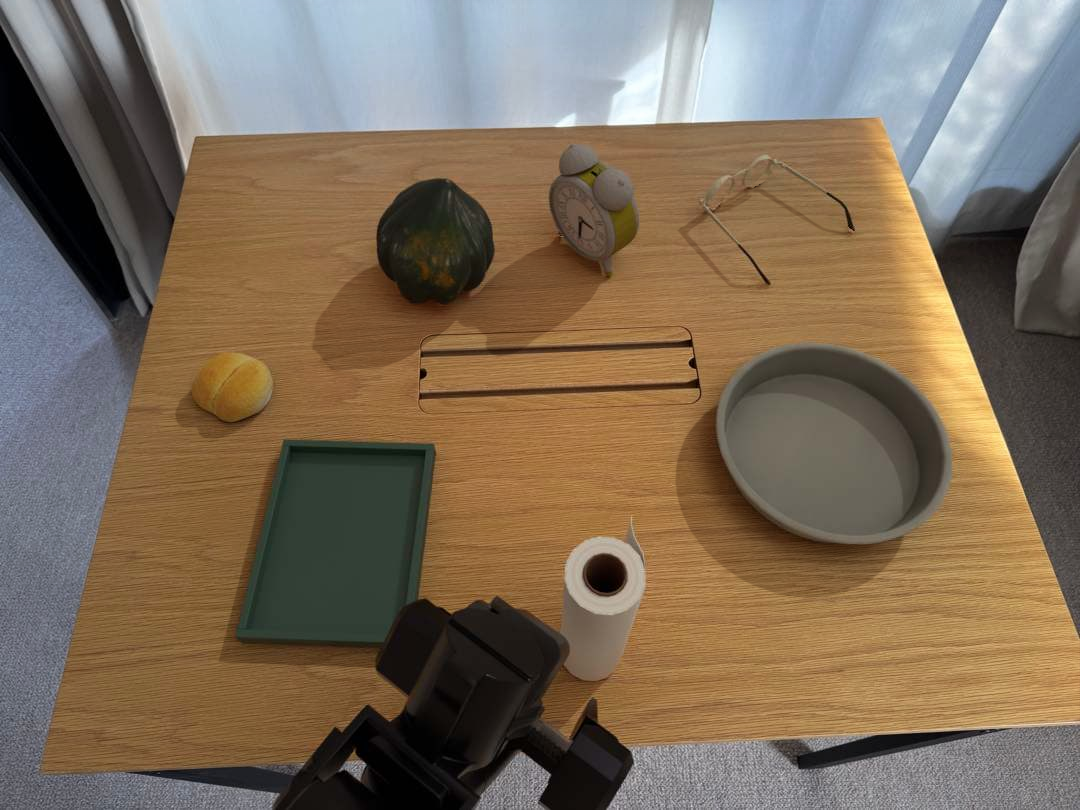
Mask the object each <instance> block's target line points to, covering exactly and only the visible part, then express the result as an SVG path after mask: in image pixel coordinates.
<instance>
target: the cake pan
mask: <svg viewBox="0 0 1080 810" xmlns="http://www.w3.org/2000/svg"><path fill="white" fill-rule="evenodd" d="M719 397H720V398H719V400H718V404H717V409H716V415H715V416H716V418H715V431H716V438H717V444H718V448H719V450H720V453H721V457H722V459H723V461H724V463H725V466H726V467H727V469H728V471H729V474H730V476H731V479H732V481H733V483H734V484H735V486H736V487H737V489H738V490H739V492H740V493H741V495H742V496H743V497H744V498H745V500H746V502H748V503H749V504H750V505H751V506H752V507H753V509H754V510H756V512H758V513H759V514H760V515H761V516H762V517H764V518H765V519H767V520H768V521H769V522H771V523H772V524H774V525H775V526H777V527H779V528H780V529H782V530H784V531H786V532H788V533H790V534H793V535H795V536H798V537H801V538H803V539H807V540H810V541H815V542H820V543H826V544H846V545H870V544H878V543H879V544H880V543H883V542H887V541H891V540H894V539H898V538H901V537H903V536H905V535H907V534H909V533H911V532H913V531H915V530H916V529H918V528H919V527H920V526H922V525H924V523H926V522H927V521H928V520H930V518H931V517H933V515H934V514H935V513H936V512H937V511H938V510H939V508H940V506H941V505H942V503H943V502H944V500H945V498H946V496H947V494H948V492H949V488H950V485H951V480H952V475H953V467H954V466H953V454H952V447H951V441H950V438H949V434H948V431H947V430H946V427H945V424H944V423H943V420H942V418H941V416H940V415H939V413H938V411H937V410H936V407H934V405H933V404H932V403H931V401H930V399H929V398H927V396H926V394H925V393H923V391H921V389H920V388H919V387H918V386H916V385H915V384H914V383H913V382H912V381H911V380H910V379H909V378H908V377H906V376H905V375H904V374H902V373H901V372H900V371H898V370H897V369H895V367H893V366H891V365H889V364H888V363H886V362H884V361H883V360H881V359H878V358H877V357H875V356H872V355H870V354H867V353H866V352H863V351H860V350H857V349H853V348H851V347H846V346H843V345H838V344H832V343H825V342H797V343H789V344H784V345H780V346H776V347H773V348H770V349H768V350H766V351H763V352H761V353H759V354H757V355H756V356H754V357H752V358H751V359H749V360H748V361H747V362H745V363H744V364H742V365H741V366H740V367H739V368H738V369H737V371H735V373H733V375H732V376H731V377H730V379H729V380H728V381H727V383H726V385H725V386H724V388H723V390H722V392H721V395H720V396H719Z"/></svg>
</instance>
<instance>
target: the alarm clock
mask: <svg viewBox="0 0 1080 810" xmlns="http://www.w3.org/2000/svg"><path fill="white" fill-rule="evenodd" d="M598 155H599V154H598V153H597V152H596V151H595V150H594V149H593V148H592V147H591V146H589V145H587V144H582V143H577V144H576V143H571V144H570V145H569V147H567V148H565V150H564V151H563V152H562V154H561V156H560V158H559V161H558V162H559V163H558V170H559V175H558V176H557V177H556V178H555V179H554V180H553V181H552V182H551V184H550V188H549V190H548V191H549V192H548V204H549V210H550V213H551V216H552V219H553V221H554V224H555V226H556V228H557V230H558V233H557V235H558V234H559V235H560V236H563V237H562V238H563V239H564V240H565V242H566V243H567V245H568V246H570V248H571V249H573V251H575V252H576V254H579V255H580V256H581V257H583V258H584V259H587V260H590V261H593V262H600V264H601V266H602V268H603V270H604V273H605V275H606V277H607V278H611V277H613V264H612V262H613V261H612V256H613V255H615V254H616V253H618V252H620V251H621V250H622V249H624V248H626V247H627V246H628V245H630V244H631V243H632V242H633V240H635V238H636V236H637V234H638V232H639V227H640V214H639V209H638V205H637V200H636V199H635V197H634V192H635V189H634V183H633V181H632V179H631V177H630V175H629V174H627V173H626V172H625V171H623V170H620V169H618V168H613V167H612V166H611V165H609V164H607V163H606V162H603V161H600V158H599V156H598Z"/></svg>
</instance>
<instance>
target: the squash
mask: <svg viewBox="0 0 1080 810" xmlns="http://www.w3.org/2000/svg"><path fill="white" fill-rule="evenodd" d="M376 227H377V228H376V235H375V239H376V240H375V242H376V255H377V261H378V264H379V267H380V269H381V270H382V272H383V274H384V275H385V277H387V279H389V280H390V281H392V282H394V283H396V286H397V288H398V291H399V293H400V294H401V296H402V297H403V298H404V299H405V300H406V301H407V302H408V303H410V304H413V305H420V304H424V303H426V302H428V301H430V300H432V301H433V302H434V303H436V304H438V305H441V306H445V305H448V304H451V303H453V302H454V301H455V300H457V298H458V297H459V296H460V295H461V294H462V293H463V292H470V291H473V290H476V288H477V287H479V286H480V285H481V284H482V282H483V281H484V279H485V277H486V273H487V272H488V270H489V269H490V267H491V264H492V262H493V260H494V257H495V251H496V250H495V242H494V232H493V231H494V230H493V225H492V221H491V219H490V217H489V215H488V214H487V212H486V210H485V209H484V207H483V205H482V204H481V203H480V202H479V201H478V200H477V199H475V198H474V197H473V196H471V194H469V193H467V192H466V191H465V190H464V189H462V188H461V187H460V186H459V185H458V184H456V182H455V181H453V180H451V179H449V178H441V177H435V178H430V179H424V180H421V181H420V180H419V181H417V182H415V183H412V184H411V185H409V186H407V187H406V188H404V189H403V190H401V191H400V192H399V193H398V194H397V195H396V197H395V198H394V200H393V201H392V203H391V204H390V205H389V206H388V207H387V208H386V209H385V210H384V212H383V213H382V215H381V217H380V218H379V221H378V223H377V226H376Z"/></svg>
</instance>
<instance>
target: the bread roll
mask: <svg viewBox="0 0 1080 810" xmlns="http://www.w3.org/2000/svg"><path fill="white" fill-rule="evenodd" d="M191 383H192V384H191V395H192V396H191V397H192V399H193V400H194V402H195V403H196V404H197V406H199V407H201V409H203V410H205V411H207V412H209V413H212V414H214V415H215V416H216V417H217V418H218V419H220V420H222V421H224V422H227V423H235V422H238V421H241V420H244V419H246V418H249V417H251V416H253V415H256V414H258V413H260V412H262V410H264V408H265V407H266V406H267V405H268V404H269V401H270V399H271V398H272V395H273V391H274V379H273V376H272V374H271V371H270V369H269V368H268V366H267V365H266V364H265V363H264V362H263V361H261V360H259V359H256V358H254V357H252V356H249V355H247V354H245V353H242V352H233V351H228V352H227V351H226V352H222V353H219V354H217V355H215V356H213V357H211V358H210V359H208V361H206V362H205V363H204V364H203V366H202V367H201V368H200V369H198V371H197V372H196V373H195V374H194V376H193V378H192V380H191Z"/></svg>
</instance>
